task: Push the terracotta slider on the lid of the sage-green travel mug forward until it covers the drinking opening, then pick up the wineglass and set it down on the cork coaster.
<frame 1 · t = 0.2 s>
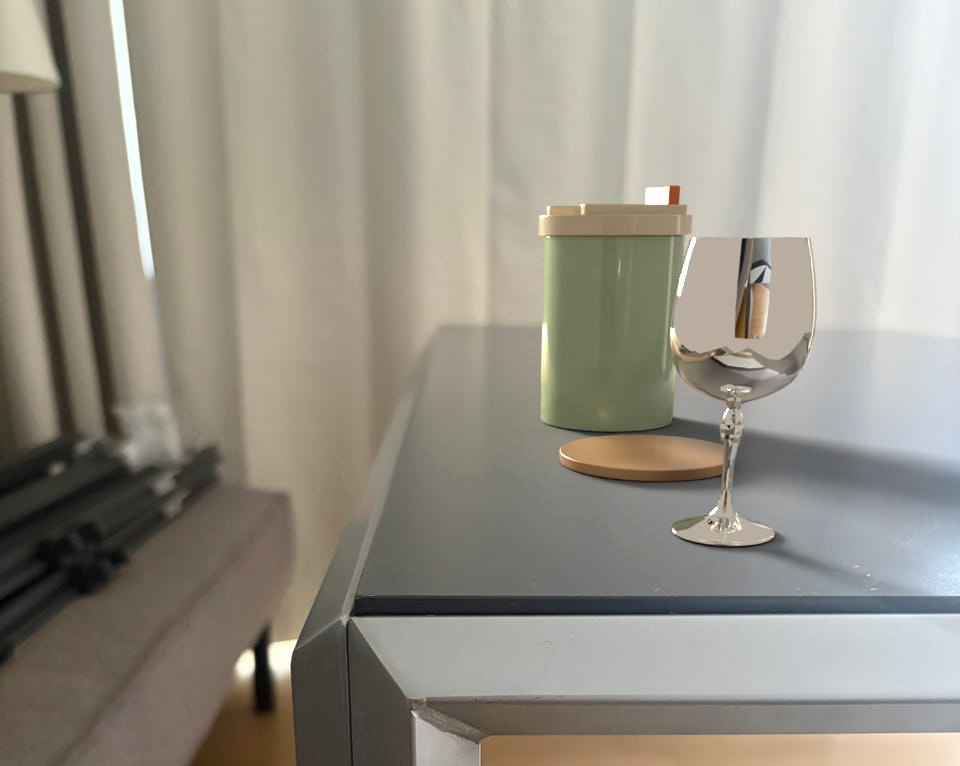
travel mug: (605, 419, 70), on the table
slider: (643, 200, 65), point 14 cm above the table, slide at -4.5 cm
wineglass: (721, 536, 44), on the table
coaster: (646, 461, 57), on the table
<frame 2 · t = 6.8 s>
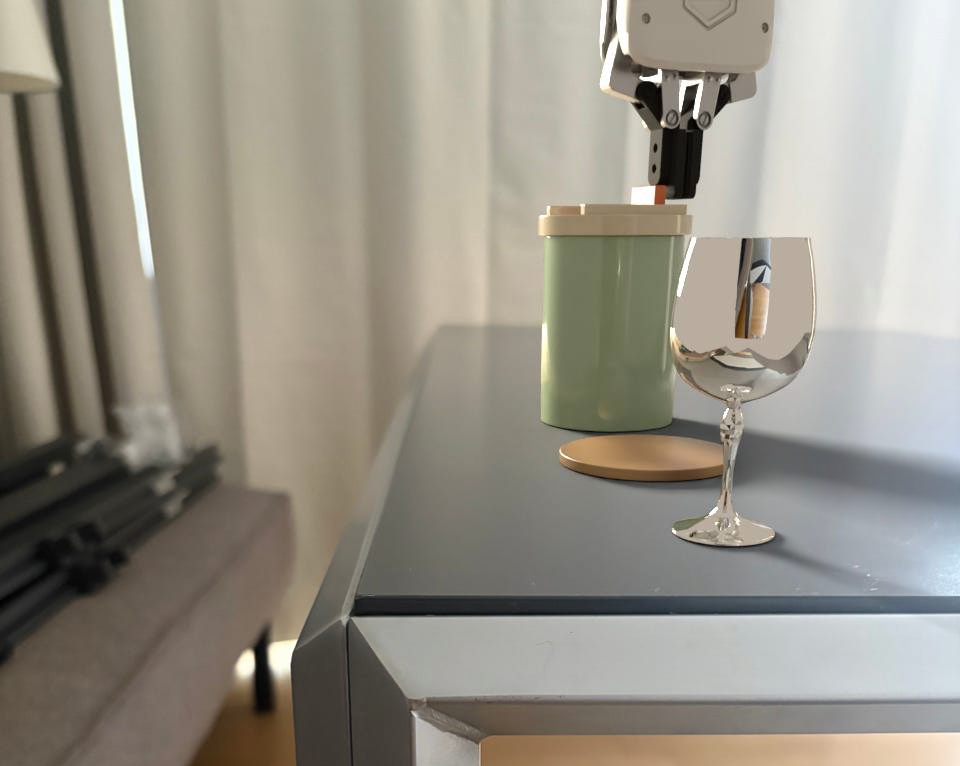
hand: (672, 198, 66), 14 cm above the table, tool pointing down, fingers closed
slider: (629, 200, 65), point 14 cm above the table, slide at -3.5 cm, touching gripper
everything else where it was.
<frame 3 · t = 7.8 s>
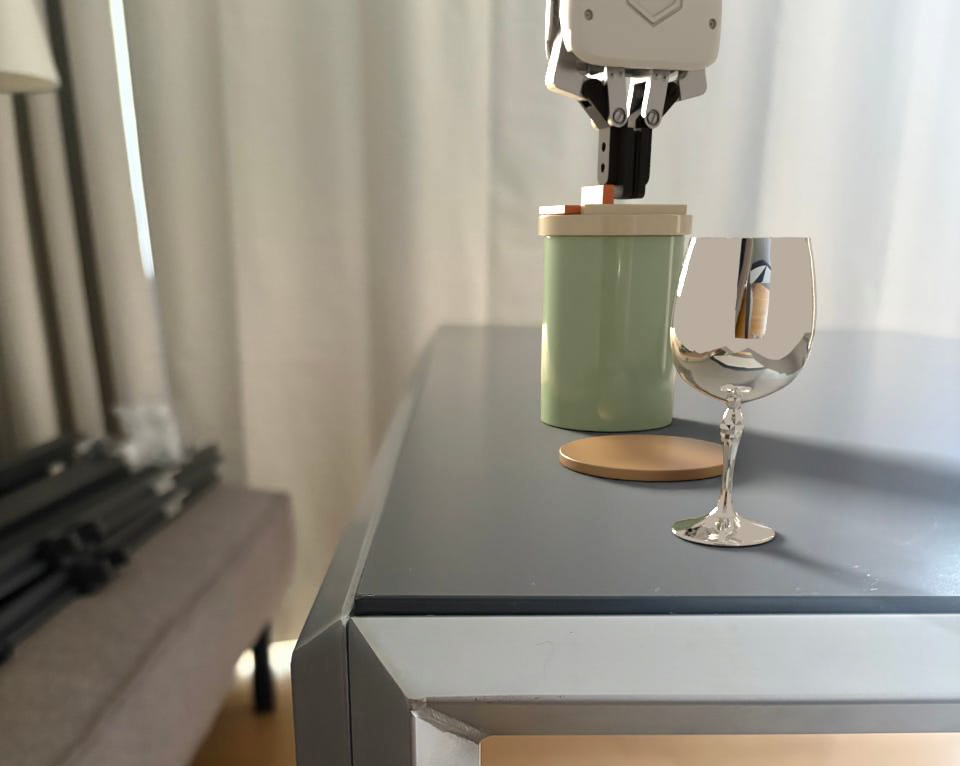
hand: (622, 198, 64), 14 cm above the table, tool pointing down, fingers closed
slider: (577, 199, 63), point 14 cm above the table, slide at 0.2 cm, touching gripper
everything else where it was.
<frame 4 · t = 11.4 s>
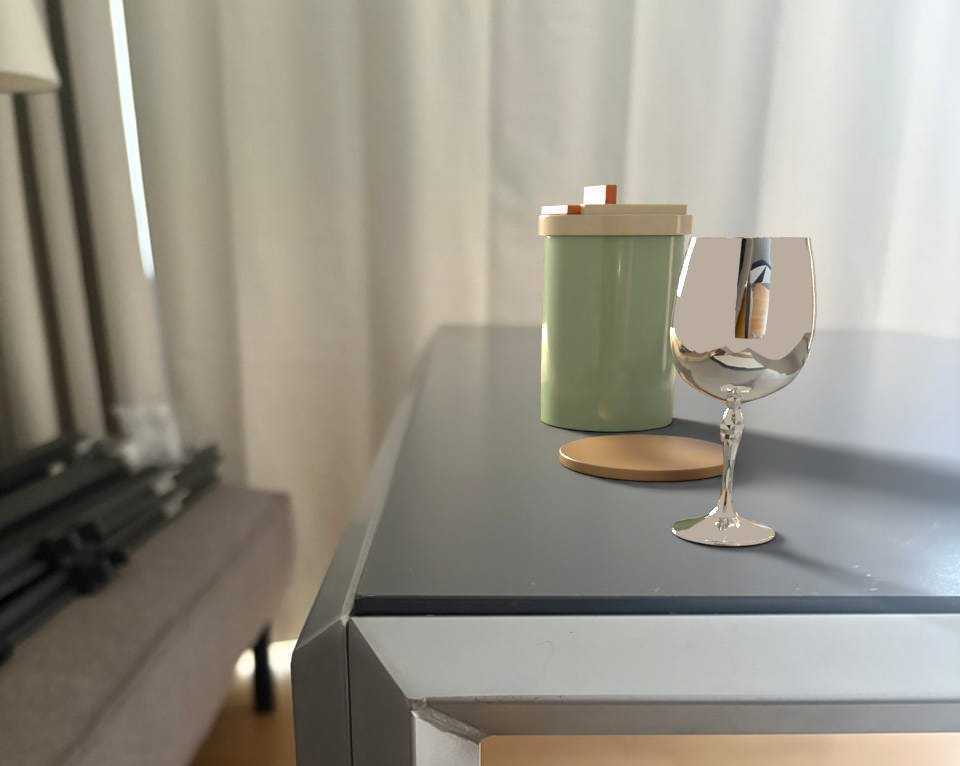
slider: (580, 199, 64), point 14 cm above the table, slide at 0.1 cm
everything else where it was.
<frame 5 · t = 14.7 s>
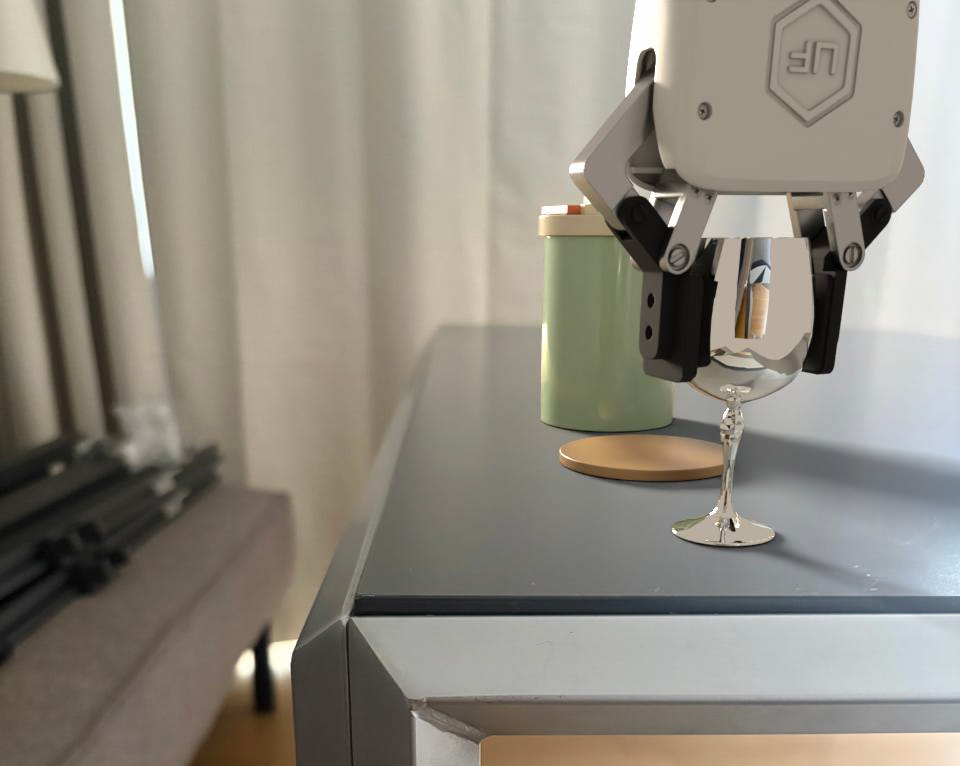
hand: (737, 369, 41), 7 cm above the table, tool pointing down, fingers closed on wineglass, 5 cm apart
wineglass: (722, 536, 44), on the table, touching gripper
everything else where it was.
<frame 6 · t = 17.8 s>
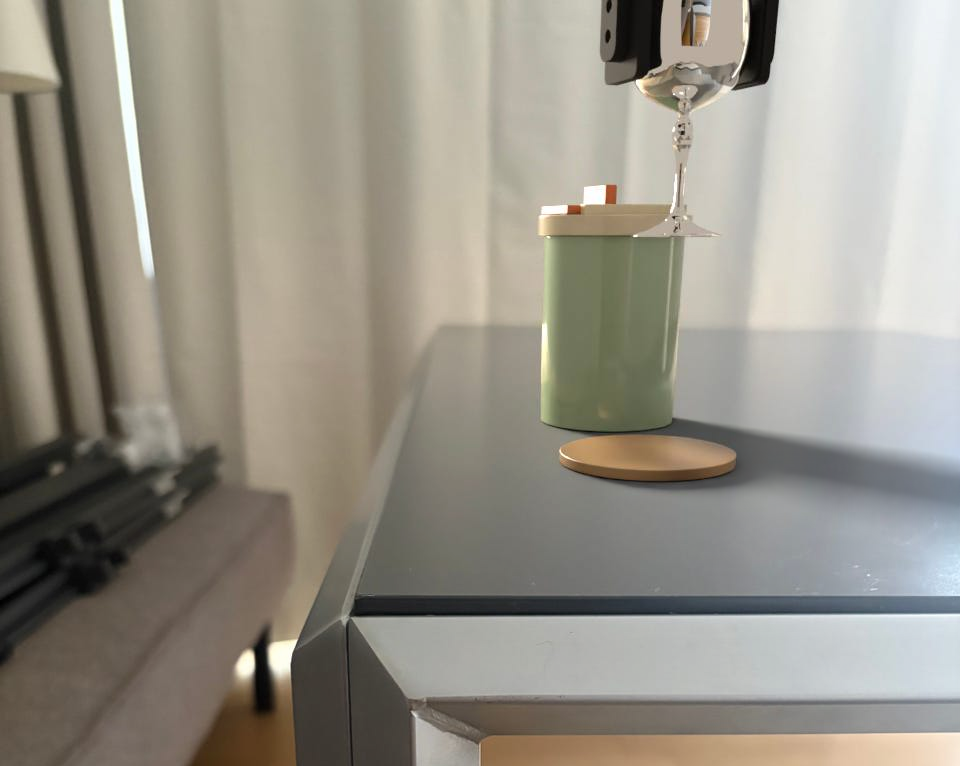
hand: (686, 80, 47), 19 cm above the table, tool pointing down, fingers closed on wineglass, 5 cm apart
wineglass: (676, 241, 50), point 12 cm above the table, touching gripper
everything else where it was.
when the fingers open (8 cm above the table, at t = 21.0 s): wineglass stays where it is, resting on coaster.
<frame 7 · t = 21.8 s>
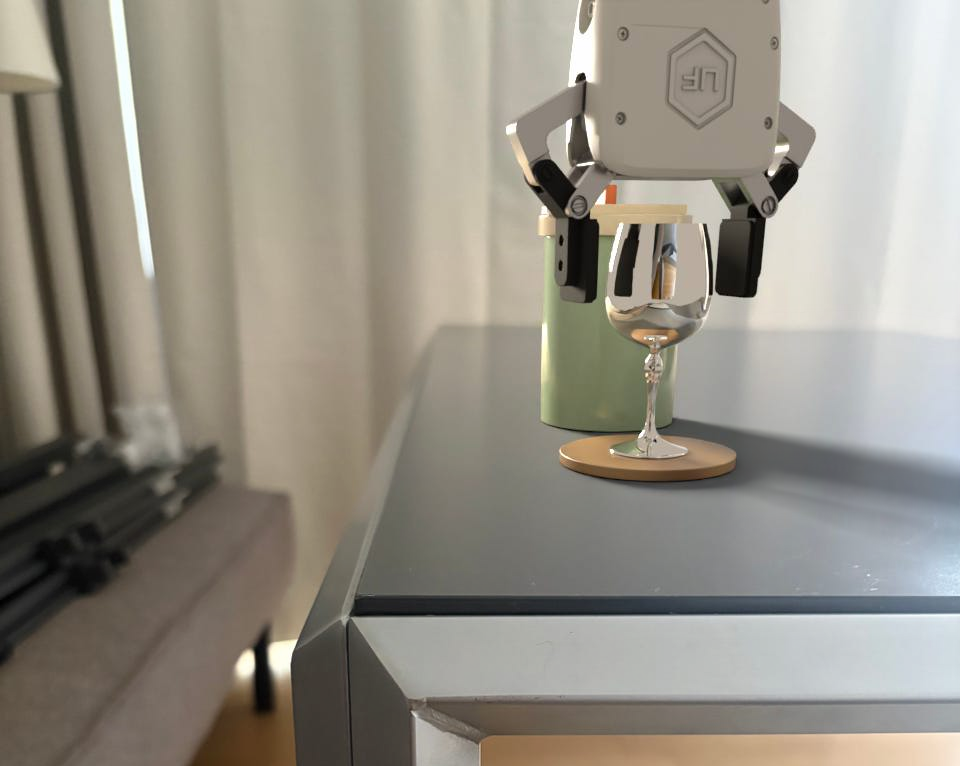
hand: (658, 298, 54), 9 cm above the table, tool pointing down, fingers open, 9 cm apart
wineglass: (648, 454, 57), resting on coaster
everything else where it was.
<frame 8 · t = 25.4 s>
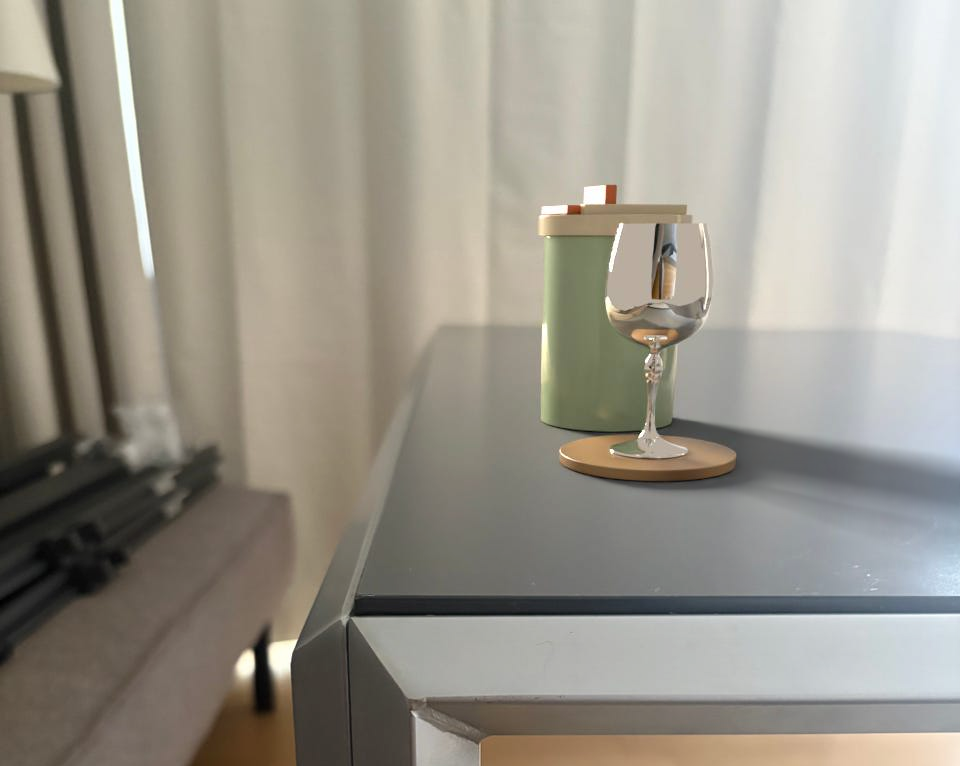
nothing on the table moved.
at the end: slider slide at 0.1 cm; wineglass 0.1 cm off-centre on the coaster, point 0.4 cm above the coaster's base; wineglass tilted 0° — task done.
